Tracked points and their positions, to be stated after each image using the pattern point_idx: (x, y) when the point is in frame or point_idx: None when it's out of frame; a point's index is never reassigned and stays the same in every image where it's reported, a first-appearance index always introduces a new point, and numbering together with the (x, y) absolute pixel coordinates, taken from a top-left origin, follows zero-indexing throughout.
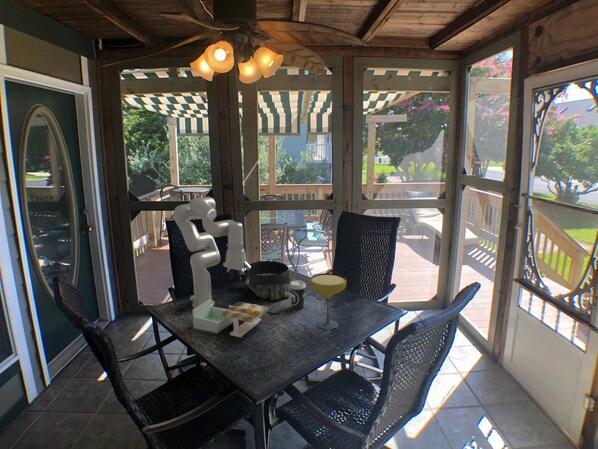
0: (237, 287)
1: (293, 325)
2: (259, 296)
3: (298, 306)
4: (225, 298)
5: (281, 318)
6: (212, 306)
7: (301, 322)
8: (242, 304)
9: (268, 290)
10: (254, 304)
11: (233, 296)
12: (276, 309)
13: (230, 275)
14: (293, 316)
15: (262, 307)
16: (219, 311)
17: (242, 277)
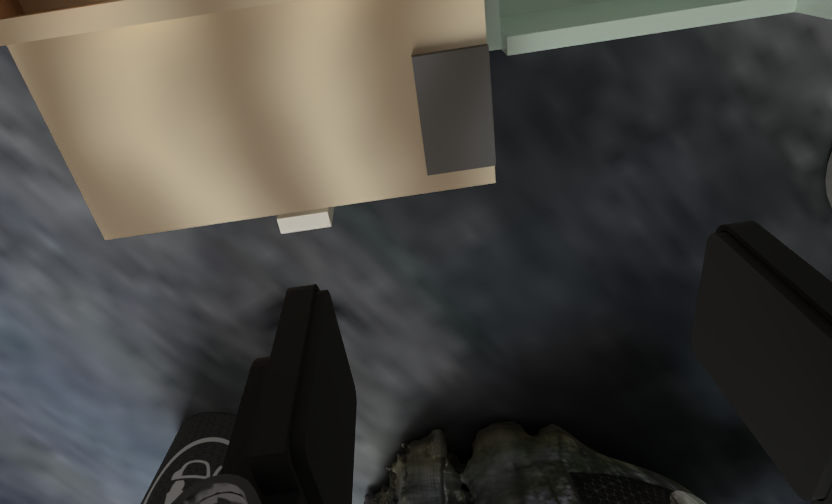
0: None
1: (10, 244)
2: (540, 433)
3: (175, 442)
4: None
5: (178, 283)
6: (788, 12)
7: (12, 307)
8: (412, 146)
9: (478, 496)
10: (311, 227)
11: None
12: None
13: (775, 329)
14: (137, 345)
15: (161, 205)
16: (661, 6)
17: (273, 374)
